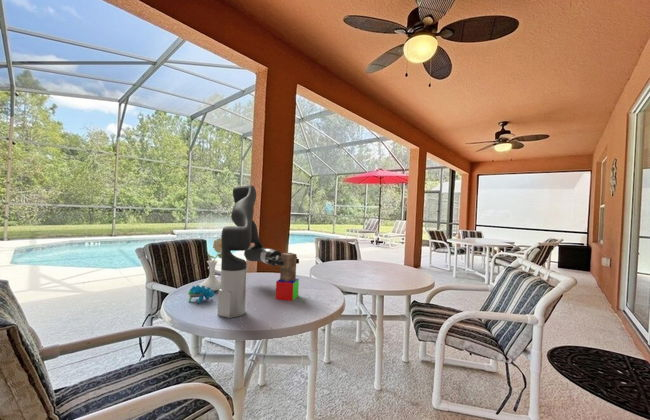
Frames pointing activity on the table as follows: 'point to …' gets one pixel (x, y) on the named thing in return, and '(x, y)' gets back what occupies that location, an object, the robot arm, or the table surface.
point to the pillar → (288, 267)
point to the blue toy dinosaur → (200, 293)
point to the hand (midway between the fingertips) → (290, 262)
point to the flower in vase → (213, 269)
